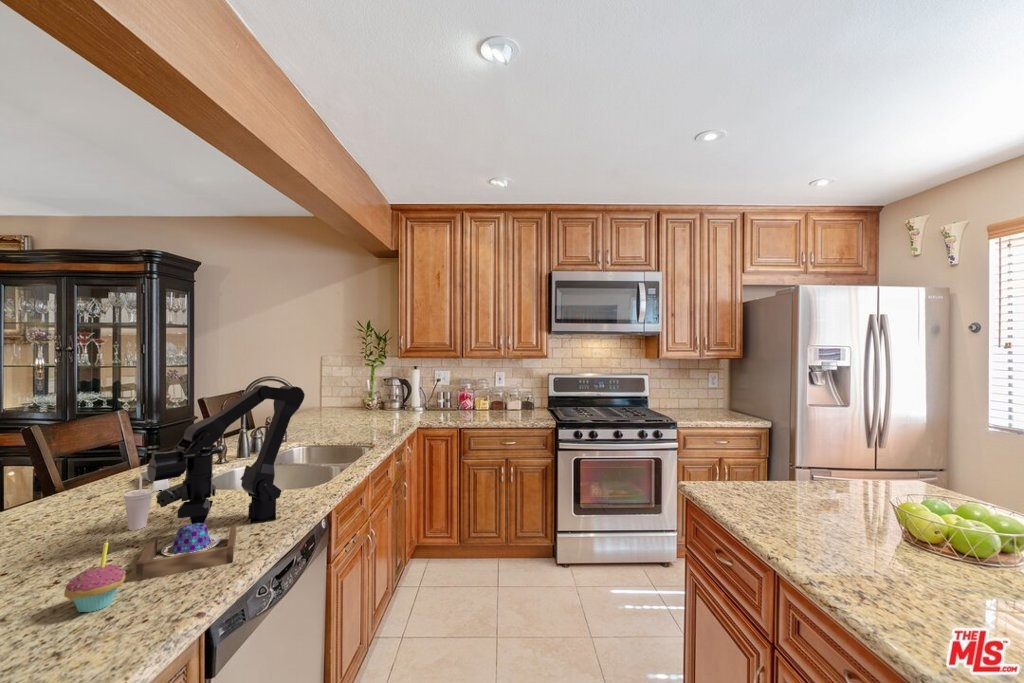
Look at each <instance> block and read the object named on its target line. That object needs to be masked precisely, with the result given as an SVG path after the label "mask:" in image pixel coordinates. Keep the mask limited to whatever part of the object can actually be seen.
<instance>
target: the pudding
mask: <svg viewBox="0 0 1024 683" xmlns="http://www.w3.org/2000/svg"><path fill="white" fill-rule="evenodd" d="M210 538H213V539H214V540H215V541H216V543H215V544H214V543H213V544H214V545H213V544H212V541H211V540H213V539H210ZM214 540H213V541H214ZM215 541H214V542H215ZM219 543H221V537H219V536H218V535H215V534H214V535H213V534H210V532H209V530H208V526H207V525H206V524H205V522H204V523H194V524H192V523H190V524H189V523H188V524H185V525H183V526H181V527H180V528H179V529H178V530H177V532H176V535H175V538H174V540H173V541H172V542H170V543H168V544H166V545H164V546H163V547H162V548H161V549H160V553H161V554H162V555H164V556H166V557H170V556H174V555H175V554H176V553H182V554H184V553H183V552H194V551H195V552H198V551H199V550H200V549H201V550H203V551H204V550H210V549H213V548H214V547H216V546H217V545H219ZM209 544H210V545H211V544H212V545H213V546H212V545H211V546H212V547H211V546H210V545H209ZM171 545H173V546H172V547H171V551H172V552H171V553H175V554H173V555H167V554H165V552H164V550H165V549H166V547H168V546H171ZM207 545H208V546H209V547H210V548H209V547H208V546H207ZM203 548H204V549H203ZM207 548H208V549H207ZM201 550H200V551H201Z"/></svg>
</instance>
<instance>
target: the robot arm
mask: <svg viewBox="0 0 1024 683" xmlns="http://www.w3.org/2000/svg"><path fill="white" fill-rule="evenodd" d="M305 395H306V394H305V392H304V390H303V389H302V388H301V387H299V386H292V385H283V386H282V385H281V386H280V387H275V386H269V385H266V384H265V385H263V384H257V385H255V386H253V388H252V389H251V390H250V391H248V392H247V393H244V394H243V395H242V396H240V397H239V398H238V399H236V400H235V401H233V402H232V403H231V404H230V403H229V405H228V406H226V407H225V408H224V409H222V410H220V411H219V412H217V413H216V414H214V415H212V416H209V417H205V418H203V419H201V420H198V421H197V422H195V423H193V424H191V425H189V426H188V427H186V429H185V430H184V432H183V437H182V438H181V439H180V440H179V442H178V443H177V444H176V445H175V447H173V449H172V450H170V451H163V452H160V451H158V452H157V451H156V452H152V453H151V458H150V459H149V461H148V464H147V466H146V470H147V473H148V478H149V480H150V481H151V482H150V481H149V480H148V481H149V482H150V483H153V482H154V481H159V480H165V479H169V480H171V479H173V478H174V479H175V478H179V477H181V476H182V475H184V474H185V478H184V480H183V481H182V483H178V484H175V485H174V486H169V488H168V489H165V490H163V491H158V492H157V494H156V503H157V504H158V505H159V506H160V508H164V507H167V506H168V505H170V504H173V503H175V502H177V501H181V502H182V503H181V505H179V507H178V509H177V517H176V518H177V519H187V518H189V519H190V524H194V523H204V524H205V521H206V519H207V518H208V515H210V514H209V513H210V511H211V508H212V505H213V503H214V500H210V499H209V498H212V497H215V496H216V494H217V493H216V492H217V486H216V485H214V484H213V478H214V473H213V464H214V455H217V454H222V453H223V450H222V449H220V448H219V447H218V446H217V445H216V444H215V443H216V442H217V441H218V440H219V439H220V438H221V437H222V436H223V435H224V433H225V432H226V430H227V429H228V428H229V427H230V426H231V425H232V424H234V423H236V421H238V420H239V419H241V418H242V417H243V416H245V415H246V414H248V413H249V412H250V411H251V410H253V409H254V408H255V407H257V406H259V405H260V404H261V403H263V402H264V401H265V400H272V401H273V412H274V413H273V416H272V417H271V418H272V419H271V420H270V423H269V426H268V428H267V431H266V434H265V437H264V439H263V442H262V445H261V448H260V451H259V452H258V455H257V459H256V460H255V462H253V464H252V465H246V466H245V467H244V472H243V474H242V476H241V478H240V480H241V485H240V486H241V488H242V489H243V490H244V492H247V495H248V497H251V501H250V502H249V504H248V521H249V524H251V525H252V524H257V523H258V524H259V523H263V522H264V523H265V522H269V521H270V522H271V521H275V520H277V500H278V499H280V497H281V493H282V490H281V488H279V487H277V485H275V484H274V481H275V476H276V474H275V472H276V471H275V462H276V460H277V456H278V453H279V451H280V449H281V445H282V444H283V439H284V438H285V435H286V432H287V429H288V426H289V424H290V421H291V418H292V417H293V415H295V413H297V411H298V410H299V409H300V408H301V406H302V404H303V401H304V400H305ZM170 478H171V479H170Z"/></svg>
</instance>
